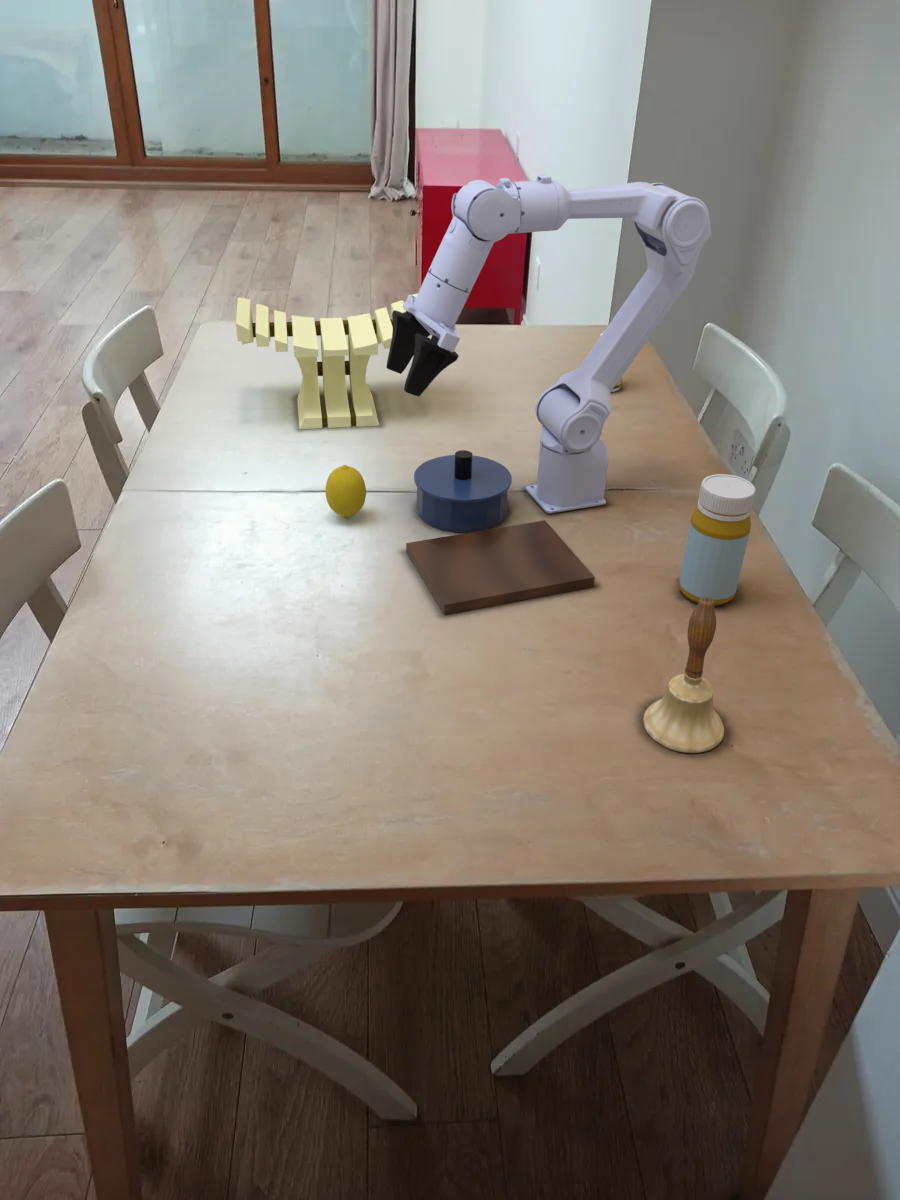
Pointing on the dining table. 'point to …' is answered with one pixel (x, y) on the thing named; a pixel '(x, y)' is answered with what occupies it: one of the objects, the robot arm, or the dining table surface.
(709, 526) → the bottle
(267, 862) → the dining table surface
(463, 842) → the dining table surface
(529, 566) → the board
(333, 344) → the slatted curved stool
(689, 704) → the hand bell
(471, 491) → the lid
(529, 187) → the robot arm
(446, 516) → the tin
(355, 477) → the lemon
